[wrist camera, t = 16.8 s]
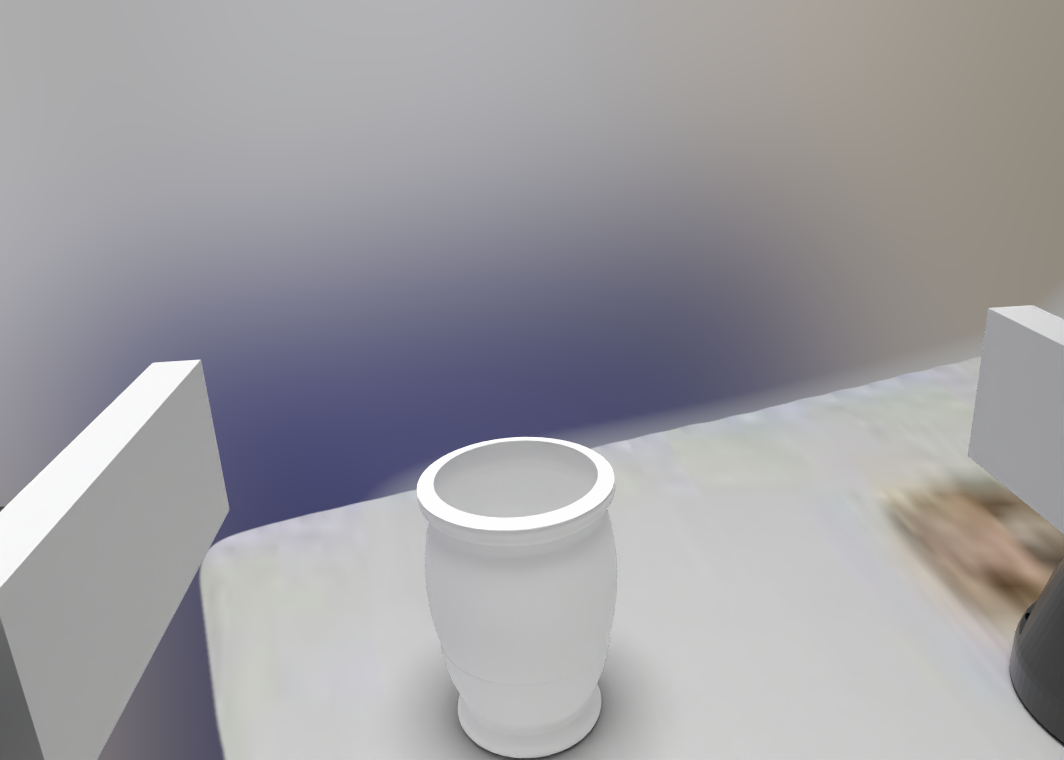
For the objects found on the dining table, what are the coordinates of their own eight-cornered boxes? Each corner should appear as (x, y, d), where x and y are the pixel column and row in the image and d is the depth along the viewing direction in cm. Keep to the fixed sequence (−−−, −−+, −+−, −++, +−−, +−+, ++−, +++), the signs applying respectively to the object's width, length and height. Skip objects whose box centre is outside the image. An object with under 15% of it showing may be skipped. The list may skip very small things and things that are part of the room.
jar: (600, 792, 45) (593, 536, 40) (412, 760, 48) (382, 516, 43) (632, 660, 55) (630, 439, 49) (474, 639, 57) (456, 428, 52)
